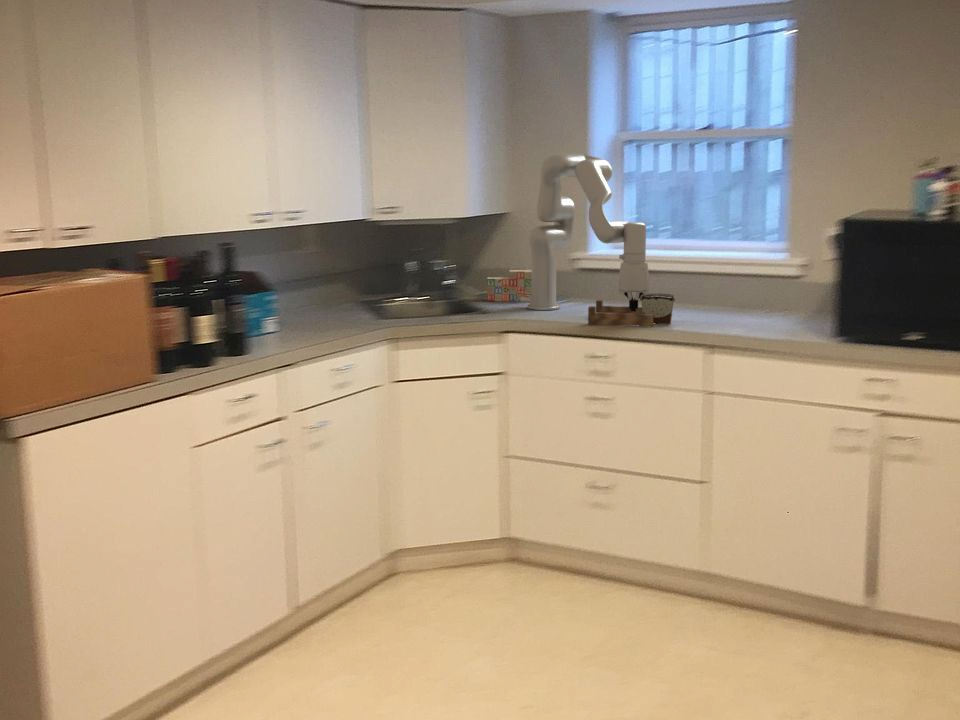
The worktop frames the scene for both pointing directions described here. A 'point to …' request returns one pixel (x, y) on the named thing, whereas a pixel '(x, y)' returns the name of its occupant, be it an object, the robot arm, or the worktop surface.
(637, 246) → the robot arm
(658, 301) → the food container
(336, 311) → the worktop surface
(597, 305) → the wooden tray
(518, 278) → the stack of blocks
